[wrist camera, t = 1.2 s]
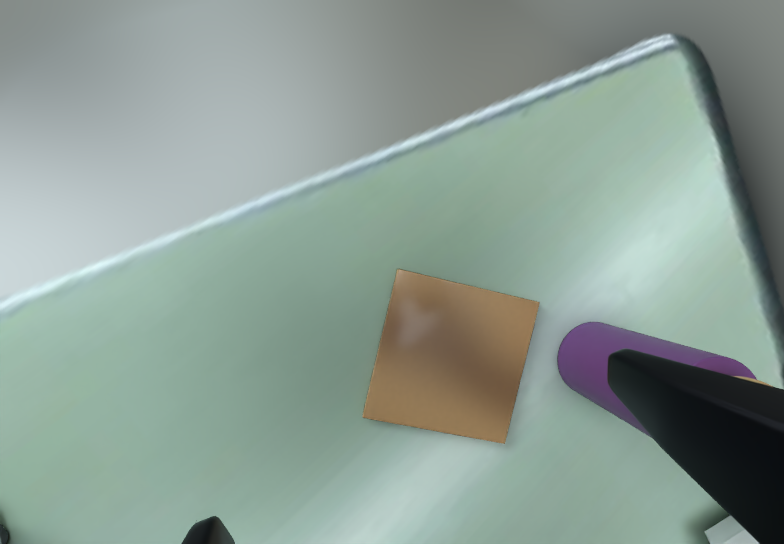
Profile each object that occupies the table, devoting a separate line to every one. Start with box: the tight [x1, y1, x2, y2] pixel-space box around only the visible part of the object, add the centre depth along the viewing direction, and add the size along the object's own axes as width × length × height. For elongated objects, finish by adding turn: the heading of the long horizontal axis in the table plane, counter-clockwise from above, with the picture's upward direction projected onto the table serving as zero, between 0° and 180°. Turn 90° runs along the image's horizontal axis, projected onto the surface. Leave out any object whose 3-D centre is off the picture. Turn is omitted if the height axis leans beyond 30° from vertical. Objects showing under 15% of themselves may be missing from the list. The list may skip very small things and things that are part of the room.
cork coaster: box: [363, 269, 539, 444], centre depth 25 cm, size 10×10×1 cm
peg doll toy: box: [558, 322, 773, 437], centre depth 20 cm, size 5×5×12 cm
